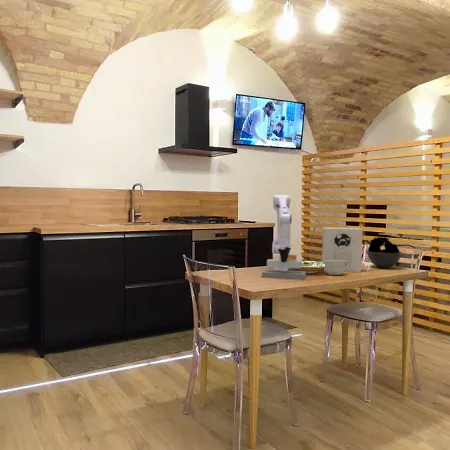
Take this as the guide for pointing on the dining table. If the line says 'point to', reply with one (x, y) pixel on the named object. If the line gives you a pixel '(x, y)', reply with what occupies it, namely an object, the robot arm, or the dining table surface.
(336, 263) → the teacup
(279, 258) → the crate cream
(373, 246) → the coal bowl
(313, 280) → the dining table surface
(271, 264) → the grey rectangular bar
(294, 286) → the dining table surface
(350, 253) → the cereal box
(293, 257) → the crate terracotta
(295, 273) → the block
